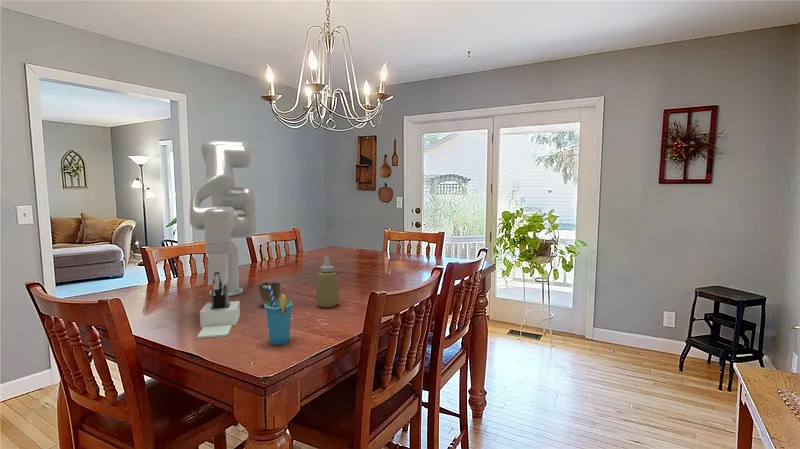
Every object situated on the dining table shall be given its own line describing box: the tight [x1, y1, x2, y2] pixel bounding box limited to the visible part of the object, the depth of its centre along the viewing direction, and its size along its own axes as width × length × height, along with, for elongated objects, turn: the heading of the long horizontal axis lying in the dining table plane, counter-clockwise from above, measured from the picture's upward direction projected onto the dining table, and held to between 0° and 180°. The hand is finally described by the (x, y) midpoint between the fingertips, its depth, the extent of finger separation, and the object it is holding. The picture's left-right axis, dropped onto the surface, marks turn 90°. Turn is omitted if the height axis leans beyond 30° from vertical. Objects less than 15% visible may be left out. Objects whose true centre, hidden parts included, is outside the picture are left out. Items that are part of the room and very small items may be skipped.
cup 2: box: [258, 281, 281, 304], centre depth 149 cm, size 8×7×8 cm
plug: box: [210, 287, 230, 309], centre depth 131 cm, size 4×4×10 cm
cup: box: [263, 286, 293, 346], centre depth 115 cm, size 14×8×15 cm, turn 46°
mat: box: [197, 325, 233, 339], centre depth 122 cm, size 8×8×1 cm
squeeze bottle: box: [315, 255, 340, 309], centre depth 148 cm, size 8×8×18 cm
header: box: [199, 300, 241, 329], centre depth 131 cm, size 10×10×5 cm
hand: (220, 304), depth 131 cm, fingers closed on plug, 4 cm apart
